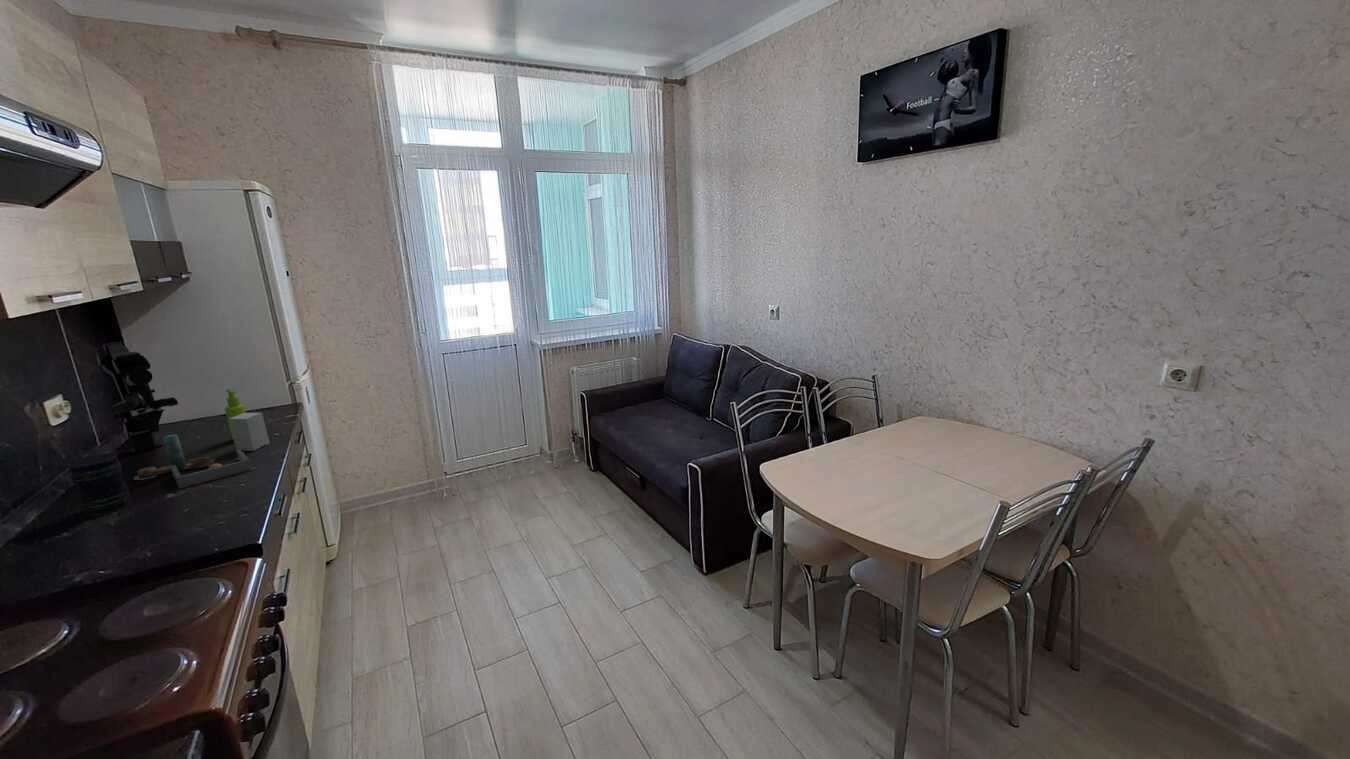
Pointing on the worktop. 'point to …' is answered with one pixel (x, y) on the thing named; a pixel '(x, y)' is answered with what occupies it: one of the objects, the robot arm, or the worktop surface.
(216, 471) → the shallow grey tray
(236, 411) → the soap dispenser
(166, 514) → the worktop surface
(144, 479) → the pivot base
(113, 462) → the storage jar
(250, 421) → the supplement box
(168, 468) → the lever
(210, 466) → the ball
